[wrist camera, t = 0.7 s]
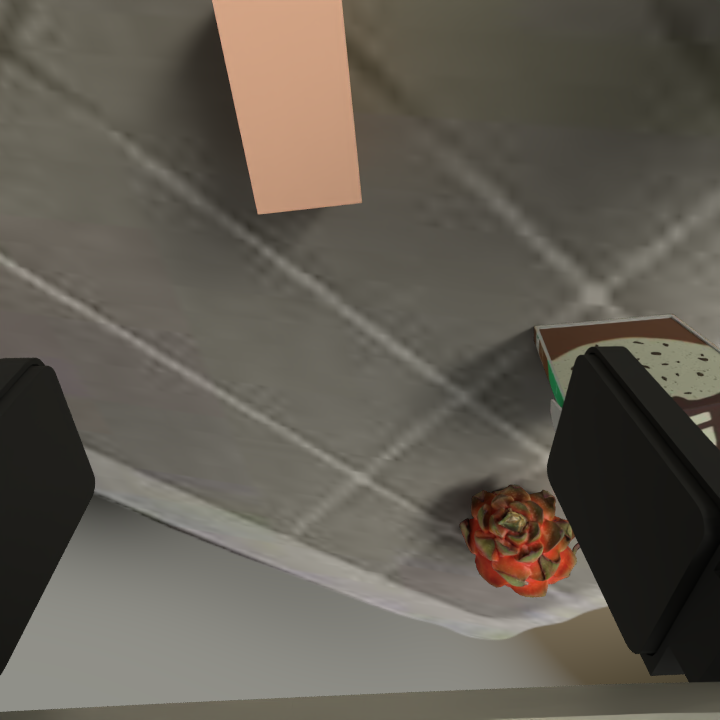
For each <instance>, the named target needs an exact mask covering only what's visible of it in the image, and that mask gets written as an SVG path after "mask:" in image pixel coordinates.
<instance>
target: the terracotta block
mask: <svg viewBox="0 0 720 720" xmlns="http://www.w3.org/2000/svg"><path fill="white" fill-rule="evenodd" d="M212 2H213V7H214V12H215V16H216V21H217V26H218V30H219V35H220V40H221V44H222V49H223V54H224V58H225V63H226V68H227V72H228V77H229V82H230V86H231V91H232V96H233V100H234V105H235V110H236V114H237V119H238V124H239V128H240V133H241V138H242V142H243V147H244V152H245V156H246V161H247V166H248V170H249V175H250V180H251V184H252V189H253V194H254V198H255V203H256V208H257V212H258V214H267V213H276V212H285V211H294V210H303V209H312V208H320V207H329V206H338V205H347V204H356V203H362V197H361V187H360V177H359V167H358V157H357V148H356V138H355V128H354V118H353V108H352V98H351V88H350V78H349V68H348V59H347V49H346V39H345V29H344V19H343V9H342V0H212Z"/></svg>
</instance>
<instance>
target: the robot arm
mask: <svg viewBox="0 0 720 720" xmlns="http://www.w3.org/2000/svg"><path fill="white" fill-rule="evenodd" d="M547 474H548V479H549V482H550V484H551V486H552V488H553V490H554V493H555V495H556V497H557V499H558V501H559V503H560V505H561V507H562V509H563V512H564V514H565V516H566V518H567V520H568V522H569V524H570V526H571V528H572V531H573V533H574V535H575V537H576V539H577V541H578V543H579V545H580V547H581V550H582V552H583V554H584V556H585V558H586V560H587V562H588V564H589V566H590V569H591V571H592V573H593V575H594V577H595V579H596V581H597V583H598V585H599V588H600V590H601V592H602V594H603V596H604V598H605V600H606V602H607V604H608V607H609V609H610V611H611V613H612V615H613V617H614V619H615V621H616V623H617V626H618V628H619V630H620V632H621V634H622V636H623V638H624V640H625V642H626V644H627V646H628V648H629V649H630V650H631V651H632V652H634V653H635V654H640V655H641V657H642V659H643V661H644V663H645V665H646V667H647V669H648V671H649V673H650V675H651V676H656V675H677V674H685V676H686V677H687V679H688V681H689V683H649V684H606V685H605V684H604V685H583V686H582V685H580V686H557V687H555V686H554V687H530V688H507V689H480V690H456V691H430V692H407V693H385V694H362V695H342V696H341V695H340V696H317V697H295V698H275V699H253V700H230V701H209V702H189V703H188V702H187V703H167V704H148V705H127V706H107V707H90V708H89V707H88V708H68V709H50V710H30V711H10V712H0V720H720V450H719V449H718V448H717V447H716V446H715V445H714V444H713V442H712V441H711V440H710V439H709V438H708V437H707V436H706V435H705V434H704V433H703V431H702V430H701V429H700V428H699V427H698V426H697V425H696V424H695V423H694V422H693V420H692V419H691V418H690V417H689V416H688V415H687V414H686V413H685V412H684V411H683V409H682V408H681V407H680V406H679V405H678V404H677V403H676V402H675V401H674V400H673V398H672V397H671V396H670V395H669V394H668V393H667V392H666V391H665V390H664V389H663V387H662V386H661V385H660V384H659V383H658V382H657V381H656V380H655V379H654V377H653V376H652V375H651V374H650V373H649V372H648V371H647V370H646V369H645V368H644V366H643V365H642V364H641V363H640V362H639V361H638V360H637V359H636V358H635V357H634V355H633V354H632V353H631V352H630V351H629V350H628V349H627V348H625V347H624V346H597V347H590V348H588V349H587V351H586V352H585V354H584V355H579V356H578V357H577V358H576V360H575V363H574V367H573V370H572V374H571V378H570V381H569V385H568V389H567V392H566V396H565V400H564V403H563V407H562V411H561V415H560V418H559V422H558V426H557V429H556V433H555V437H554V440H553V444H552V448H551V452H550V455H549V459H548V463H547ZM94 489H95V477H94V474H93V471H92V468H91V466H90V463H89V460H88V458H87V455H86V452H85V450H84V447H83V445H82V442H81V439H80V437H79V434H78V431H77V429H76V426H75V423H74V421H73V418H72V415H71V413H70V410H69V408H68V405H67V402H66V400H65V397H64V394H63V392H62V389H61V386H60V384H59V381H58V378H57V376H56V373H55V371H54V370H53V369H52V368H51V367H50V366H45V365H44V363H43V362H42V361H41V360H40V359H38V358H3V359H0V675H1V673H2V672H3V670H4V669H5V667H6V665H7V663H8V661H9V659H10V657H11V655H12V653H13V651H14V649H15V647H16V645H17V643H18V641H19V639H20V637H21V635H22V634H23V631H24V629H25V627H26V626H27V624H28V622H29V620H30V618H31V616H32V614H33V612H34V610H35V608H36V606H37V604H38V602H39V600H40V598H41V596H42V594H43V592H44V590H45V588H46V586H47V584H48V582H49V581H50V579H51V576H52V574H53V573H54V571H55V569H56V567H57V565H58V562H59V561H60V559H61V557H62V555H63V553H64V551H65V549H66V547H67V545H68V543H69V541H70V539H71V537H72V535H73V533H74V531H75V529H76V528H77V526H78V524H79V522H80V520H81V518H82V516H83V514H84V512H85V510H86V508H87V506H88V504H89V502H90V500H91V498H92V496H93V493H94Z"/></svg>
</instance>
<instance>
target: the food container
mask: <svg viewBox="0 0 720 720" xmlns="http://www.w3.org/2000/svg"><path fill="white" fill-rule="evenodd" d="M534 342H535V345H536V348H537V351H538V353H539V356H540V359H541V362H542V364H543V367H544V370H545V372H546V375H547V378H548V380H549V383H550V386H551V388H552V391H553V394H554V396H555V399H556V401H555V400H554V399H552V400H551V411H550V413H551V419H552V425H553V427H554V430H555V432H556V429H557V426H558V422H559V418H560V415H561V411H562V407H563V403H564V400H565V396H566V392H567V389H568V385H569V381H570V378H571V374H572V370H573V367H574V363H575V360H576V358H577V357H578V356H579V355H584V354H585V352H586V351H587V349H588V348H590V347H597V346H624V347H625V348H627V349H628V350H629V351H630V352H631V353H632V354H633V355H634V357H635V358H636V359H637V360H638V361H639V362H640V363H641V364H642V365H643V366H644V368H645V369H646V370H647V371H648V372H649V373H650V374H651V375H652V376H653V377H654V379H655V380H656V381H657V382H658V383H659V384H660V385H661V386H662V387H663V389H664V390H665V391H666V392H667V393H668V394H669V395H670V396H671V397H672V398H673V400H674V401H675V402H676V403H677V404H678V405H679V406H680V407H681V408H682V409H683V411H684V412H685V413H686V414H687V415H688V416H689V417H690V418H691V419H692V420H693V422H694V423H695V424H696V425H697V426H698V427H699V428H700V429H701V430H702V431H703V433H704V434H705V435H706V436H707V437H708V438H709V439H710V440H711V441H712V442H713V444H714V445H715V446H716V447H717V448H718V449H719V450H720V349H719V348H718V347H717V346H715V345H714V344H713V343H711V342H710V341H708V340H707V339H706V338H704V337H703V336H702V335H700V334H699V333H698V332H696V331H695V330H694V329H692V328H691V327H690V326H688V325H687V324H685V323H684V322H683V321H681V320H680V319H679V318H677V317H676V316H675V315H673V314H667V315H656V316H644V317H633V318H622V319H610V320H599V321H587V322H576V323H565V324H553V325H542V326H534Z"/></svg>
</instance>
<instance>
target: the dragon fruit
mask: <svg viewBox="0 0 720 720" xmlns="http://www.w3.org/2000/svg"><path fill="white" fill-rule="evenodd" d="M555 503H556V500H555V497H554V496H553V495H551V494H550V493H549V492H548V491H545V490H542V491H541V492H538V493H533V494H528V493H527V492H526V491H525V490H524V489H523V488H522V487H520V486H517V485H509V486H508V487H506V488H505V489H503V490H501V491H493V492H492V493H490V492H487V491H485V490H482V491H481V492H479V493H478V494H476V495H475V496H473V497H472V504H471V513H472V516H473V517H474V519H470V520H469V519H468V518H467V519H465V520H464V521H463V522H461V523H460V524H459V526H460V529H461V531H462V534H463V537H464V539H465V542H466V544H467V547H468V549H469V550H470V552H471V553H473V554H475V555H476V558H475V563H476V567H477V570H478V572H479V574H480V575H481V576H482V577H483V578H484V579H485V580H486V581H487V582H488V583H489V584H491V585H493V586H494V587H496V588H497V587H502V586H503V585H506V586H508V587H511V588H512V589H513V590H514V591H515V592H516V593H518V594H519V595H522V596H525V597H543V596H545V595H546V592H547V589H548V584H554V583H556V582H557V581H559V580H561V579H564V578H567V577H569V576H570V572H571V570H572V569H573V567H574V566H575V565H576V562H577V560H576V559H577V558H576V556H575V554H576V552H577V550H578V549H579V548H580V545H579V543H577V544H576V545H575V546H574V547H573V550H571V549H570V548H569V547H568V546H567V545H568V544H569V543H570V541H571V540H572V539H573V538H574V537H575V535H574V533H573V531H572V528H571V526H570V524H569V522H568V520H563V519H561V518H559V517H556V516H555V508H556V507H555Z"/></svg>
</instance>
